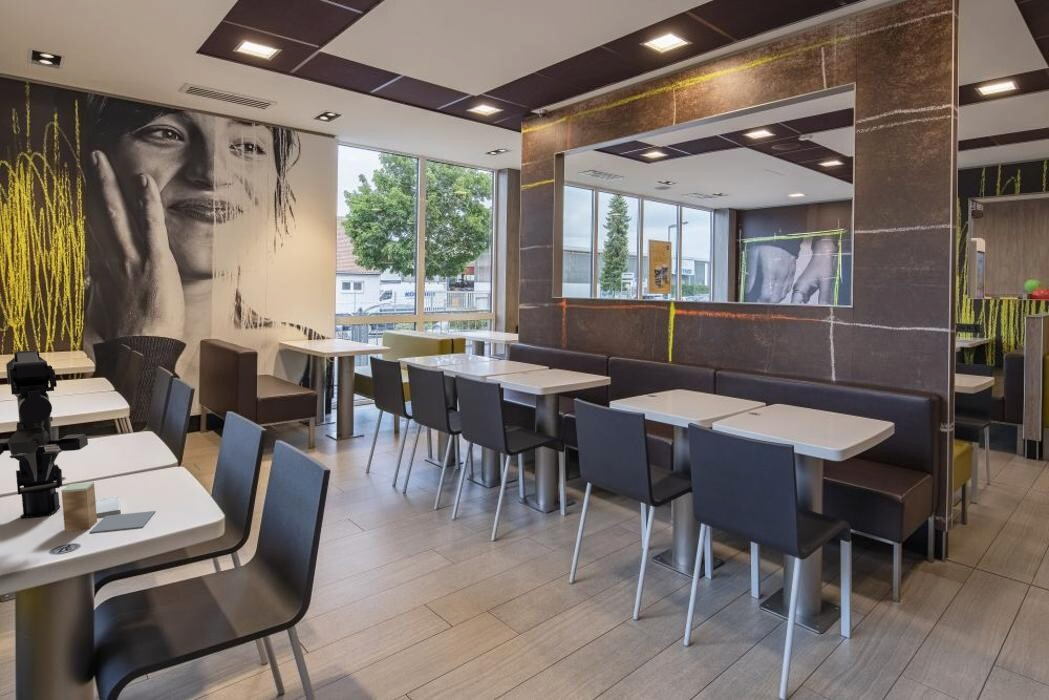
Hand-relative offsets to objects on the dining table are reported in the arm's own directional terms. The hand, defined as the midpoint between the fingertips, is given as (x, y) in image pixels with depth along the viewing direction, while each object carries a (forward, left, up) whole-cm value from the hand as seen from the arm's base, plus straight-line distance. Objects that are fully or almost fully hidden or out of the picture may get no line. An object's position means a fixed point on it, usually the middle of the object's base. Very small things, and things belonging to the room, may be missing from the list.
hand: (40, 480), depth 146 cm
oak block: (+7, 0, -12) cm, 14 cm away
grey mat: (+16, 0, -12) cm, 20 cm away
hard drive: (+8, +12, -13) cm, 19 cm away
